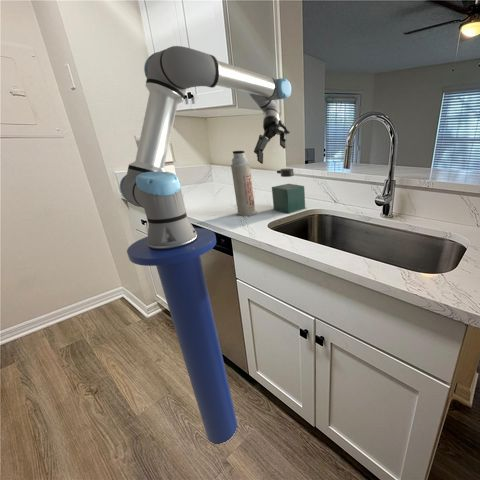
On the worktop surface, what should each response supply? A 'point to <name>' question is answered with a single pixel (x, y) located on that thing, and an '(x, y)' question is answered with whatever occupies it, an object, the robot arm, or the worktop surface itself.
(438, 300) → the worktop surface
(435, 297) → the worktop surface
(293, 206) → the dark teal foam cube
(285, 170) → the nozzle
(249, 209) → the thermos bottle
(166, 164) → the display case
